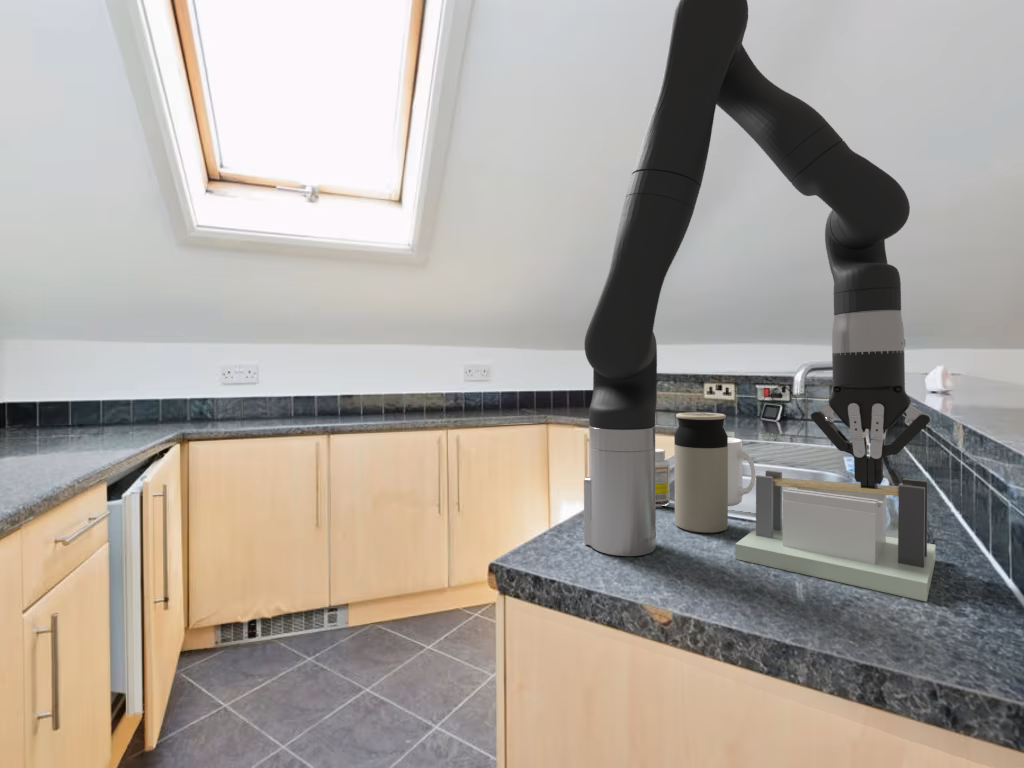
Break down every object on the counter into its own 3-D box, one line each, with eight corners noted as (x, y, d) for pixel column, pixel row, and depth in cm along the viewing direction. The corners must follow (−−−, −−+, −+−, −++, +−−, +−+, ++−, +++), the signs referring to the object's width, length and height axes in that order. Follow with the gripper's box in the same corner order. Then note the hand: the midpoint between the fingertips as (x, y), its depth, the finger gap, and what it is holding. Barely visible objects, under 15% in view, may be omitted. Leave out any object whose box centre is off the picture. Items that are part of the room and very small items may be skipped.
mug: (696, 492, 107) (696, 435, 106) (761, 500, 100) (761, 439, 100) (683, 502, 99) (683, 441, 98) (752, 511, 92) (752, 445, 92)
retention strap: (761, 486, 73) (761, 477, 73) (768, 483, 76) (767, 474, 76) (910, 499, 62) (909, 488, 62) (912, 494, 65) (912, 484, 65)
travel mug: (713, 538, 78) (713, 417, 78) (665, 526, 84) (664, 414, 83) (736, 526, 84) (736, 413, 83) (689, 516, 89) (689, 411, 89)
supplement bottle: (646, 499, 102) (646, 446, 101) (674, 503, 98) (674, 449, 98) (633, 505, 97) (633, 450, 97) (662, 510, 94) (661, 453, 94)
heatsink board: (735, 558, 70) (735, 475, 69) (770, 530, 82) (770, 458, 81) (926, 601, 56) (928, 498, 56) (935, 559, 68) (936, 474, 68)
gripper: (800, 352, 68) (803, 485, 68) (932, 346, 59) (934, 499, 59) (814, 352, 73) (816, 476, 74) (936, 347, 64) (938, 487, 65)
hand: (869, 486), depth 66 cm, fingers closed
